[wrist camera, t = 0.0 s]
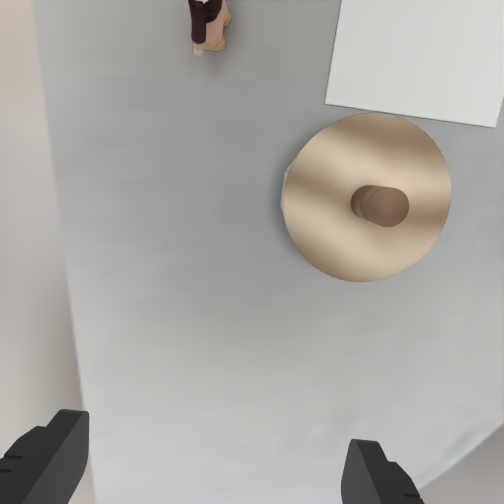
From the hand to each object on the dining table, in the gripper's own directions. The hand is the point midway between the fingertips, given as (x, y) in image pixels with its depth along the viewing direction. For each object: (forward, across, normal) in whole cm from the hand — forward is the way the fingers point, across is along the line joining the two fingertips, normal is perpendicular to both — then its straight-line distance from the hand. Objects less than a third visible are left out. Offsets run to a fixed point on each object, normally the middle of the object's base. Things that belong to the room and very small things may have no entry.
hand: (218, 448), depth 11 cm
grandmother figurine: (+30, +5, -21) cm, 37 cm away
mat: (+29, -16, -25) cm, 42 cm away
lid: (+23, -11, -7) cm, 27 cm away
